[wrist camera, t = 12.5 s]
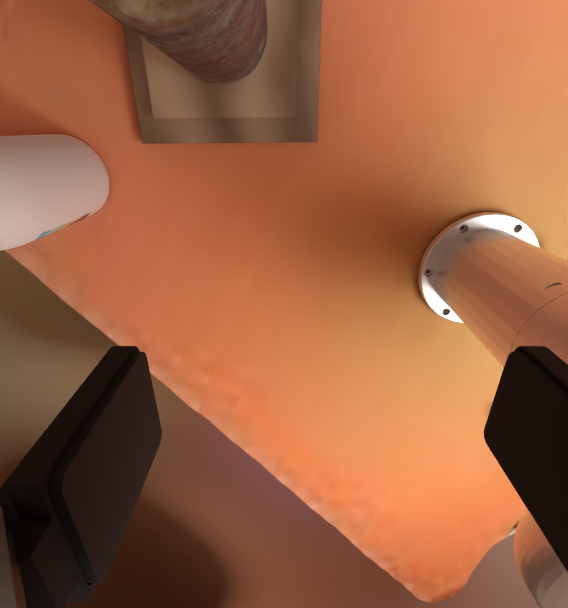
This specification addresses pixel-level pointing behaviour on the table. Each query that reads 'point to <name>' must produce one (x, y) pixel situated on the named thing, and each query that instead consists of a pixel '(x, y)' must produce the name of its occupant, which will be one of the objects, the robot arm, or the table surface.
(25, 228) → the milk bottle
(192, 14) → the dark brown rough cylinder
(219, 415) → the table surface
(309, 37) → the plinth
